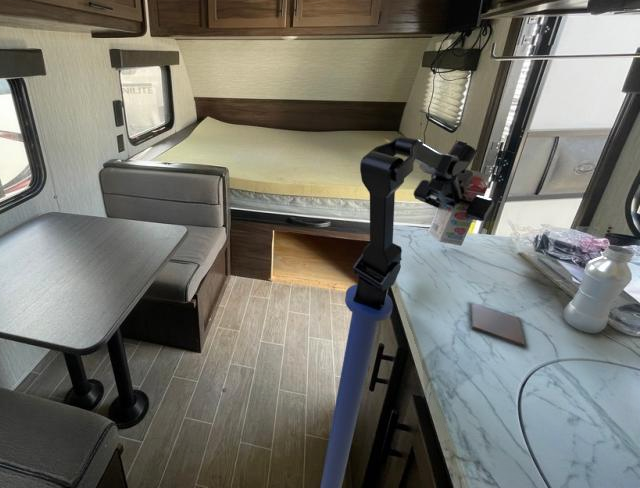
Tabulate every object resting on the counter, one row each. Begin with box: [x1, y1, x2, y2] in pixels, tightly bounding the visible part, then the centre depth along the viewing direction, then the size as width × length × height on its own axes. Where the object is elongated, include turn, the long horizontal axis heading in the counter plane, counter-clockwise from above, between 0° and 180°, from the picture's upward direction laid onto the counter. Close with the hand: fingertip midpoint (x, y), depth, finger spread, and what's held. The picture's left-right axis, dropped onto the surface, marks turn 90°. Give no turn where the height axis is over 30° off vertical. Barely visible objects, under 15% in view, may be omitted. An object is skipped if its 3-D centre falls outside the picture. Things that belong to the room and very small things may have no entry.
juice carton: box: [427, 168, 488, 246], centre depth 95 cm, size 7×7×22 cm
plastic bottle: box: [562, 244, 635, 334], centre depth 68 cm, size 6×7×20 cm
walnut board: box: [470, 302, 526, 348], centre depth 72 cm, size 9×9×1 cm
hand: (455, 212), depth 96 cm, fingers open, 9 cm apart
